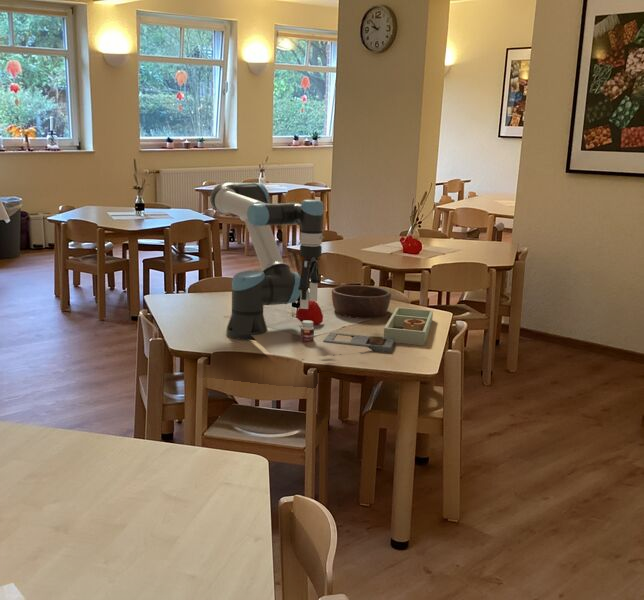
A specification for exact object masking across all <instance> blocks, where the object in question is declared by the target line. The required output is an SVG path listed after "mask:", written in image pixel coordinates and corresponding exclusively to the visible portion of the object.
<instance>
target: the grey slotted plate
mask: <svg viewBox="0 0 644 600" xmlns="http://www.w3.org/2000/svg"><path fill="white" fill-rule="evenodd" d="M337 336H347V337H351V339H350V341H340V340H334V339H335V338H336V337H337ZM323 343H331V344H339V345H340V344H341V345H350V346H357V347H358V346H359V347H366V348H368V349H369V350H370V351H372V352H376V353H377V352H378V353H387V354H388V353H389V354H390V353H392V350H393V348H394V347H395V343H396V342H395V339H391V338H384V337H383V346H382V345H372V344H370V335H362V334H359V335H358V334H349V333H341V332H340V333H339V332H338V333H337V332H330V333H328V335H327V336H326V337H325V338H324V339H323Z"/></svg>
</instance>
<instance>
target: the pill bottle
mask: <svg viewBox="0 0 644 600" xmlns="http://www.w3.org/2000/svg"><path fill="white" fill-rule="evenodd" d="M314 335H315V328H314V325H313V321H310V320H304V321H302V322H301V327H300V338H299V340H300V342H305V343H310V342H311V343H312V342H314V338H315V336H314Z"/></svg>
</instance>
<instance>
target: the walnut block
mask: <svg viewBox="0 0 644 600" xmlns="http://www.w3.org/2000/svg"><path fill="white" fill-rule="evenodd" d="M369 336H370V343H369V344H372V345H382V346H383V345H384V344H383V338H384V333H377V332H370V333H369Z"/></svg>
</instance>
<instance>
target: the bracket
mask: <svg viewBox="0 0 644 600" xmlns="http://www.w3.org/2000/svg"><path fill="white" fill-rule="evenodd" d="M425 323H426V322H425V321H424V320H420V319H416V321H413V319H406V320H404V327H403V329H406V330H416V331H423V329H424V326H425Z"/></svg>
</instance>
